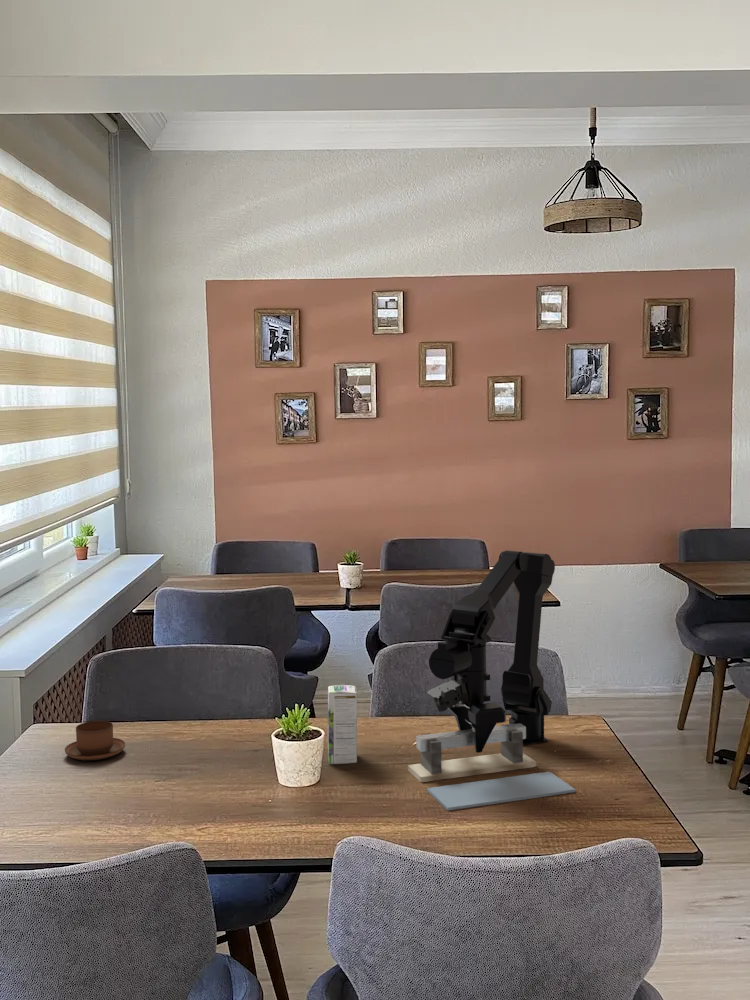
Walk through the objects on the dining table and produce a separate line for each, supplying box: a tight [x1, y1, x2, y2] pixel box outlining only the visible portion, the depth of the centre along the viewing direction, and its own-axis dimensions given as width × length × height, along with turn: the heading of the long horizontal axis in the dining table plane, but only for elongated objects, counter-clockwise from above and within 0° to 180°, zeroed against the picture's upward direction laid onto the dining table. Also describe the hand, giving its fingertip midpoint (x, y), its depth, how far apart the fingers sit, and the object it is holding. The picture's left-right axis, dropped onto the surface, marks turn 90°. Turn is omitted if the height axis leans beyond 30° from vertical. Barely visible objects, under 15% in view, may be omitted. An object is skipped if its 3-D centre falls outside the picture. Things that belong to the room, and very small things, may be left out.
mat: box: [426, 771, 576, 811], centre depth 186 cm, size 25×10×1 cm, turn 108°
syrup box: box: [327, 684, 358, 765], centre depth 204 cm, size 6×6×14 cm
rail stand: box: [407, 723, 537, 783], centre depth 198 cm, size 24×7×7 cm, turn 108°
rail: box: [415, 723, 526, 753], centre depth 197 cm, size 22×2×2 cm, turn 108°
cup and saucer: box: [64, 720, 126, 761], centre depth 209 cm, size 12×12×6 cm
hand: (471, 747), depth 198 cm, fingers open, 6 cm apart
